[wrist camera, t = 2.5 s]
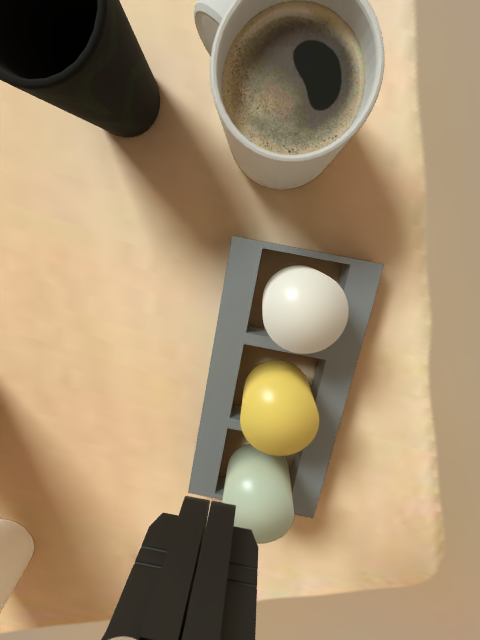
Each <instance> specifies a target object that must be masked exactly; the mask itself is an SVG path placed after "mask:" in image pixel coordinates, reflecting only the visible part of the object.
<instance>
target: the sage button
mask: <svg viewBox="0 0 480 640" xmlns="http://www.w3.org/2000/svg"><path fill="white" fill-rule="evenodd" d="M222 503H226V504H232V505H236V511H235V519H234V526H235V527H240V528H246V529H251V530H252V533H253V535H254V538H255V540H256V543H258V544H261V543H269V542H272V541H275V540H277V539H279V538H281V537H282V536H283V535H285V534H286V533H287V532H288V530H289V529H290V527H291V525H292V523H293V520H294V507H293V499H292V490H291V482H290V474H289V466H288V462H287V460H286V458H285V457H284V456H275V455H269V454H266V453H263V452H261V451H259V450H257V449H256V448H255V447H253V446H252V445H251V444H247V445H244V446H242V447H240V448H239V449H237V450H236V451H235V452H234V453H233V454H232V456H231V457H230V460H229V462H228V467H227V473H226V480H225V487H224V493H223V500H222Z"/></svg>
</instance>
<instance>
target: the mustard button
mask: <svg viewBox="0 0 480 640" xmlns="http://www.w3.org/2000/svg"><path fill="white" fill-rule="evenodd" d="M240 424H241V429H242V432H243V434H244V436H245V438H246V439H247V441H248V442H249V443H250V444H251V445H252V446H253V447H255V448H256V449H257V450H259V451H261V452H263V453H266V454H269V455H275V456H286V455H291V454H294V453H297V452H299V451H301V450H302V449H304V448H305V447H307V446H308V445H309V444H310V443H311V442H312V440H313V439H314V437H315V436H316V434H317V431H318V427H319V414H318V410H317V407H316V404H315V401H314V398H313V395H312V392H311V389H310V386H309V383H308V380H307V378H306V376H305V374H304V373H303V372H302V370H300V369H299V368H298V367H297V366H296V365H294V364H292V363H290V362H287V361H283V360H270V361H266V362H263V363H261V364H259V365H258V366H256V367H255V368H254V369H253V370H252V371H251V372H250V373H249V375H248V376H247V378H246V380H245V384H244V391H243V399H242V407H241V415H240Z"/></svg>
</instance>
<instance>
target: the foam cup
mask: <svg viewBox="0 0 480 640" xmlns="http://www.w3.org/2000/svg"><path fill="white" fill-rule="evenodd" d="M33 551H34V543H33V540H32V536H31V535H30V534H29V533H28V532H27V530H26V529H25V528H24V527H23V526H21V525H19V524H17V523H16V522H14V521H11V520H5V519H0V613H1V611H2V609H3V607H4V605H5V604H6V602H7V600H8V598H9V597H10V595H11V593H12V591H13V590H14V588H15V586H16V584H17V582H18V581H19V579H20V577H21V575H22V574H23V572H24V570H25V568H26V567H27V565H28V563H29V560H30V559H31V557H32V555H33Z"/></svg>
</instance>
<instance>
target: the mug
mask: <svg viewBox="0 0 480 640" xmlns="http://www.w3.org/2000/svg"><path fill="white" fill-rule="evenodd" d="M194 17H195V24H196V28H197V30H198V33H199V36H200V38H201V40H202V42H203V44H204V46H205V48H206V50H207V51H208V53H209V55H210V56H211V59H210V81H211V90H212V94H213V98H214V102H215V105H216V108H217V111H218V114H219V117H220V120H221V123H222V126H223V129H224V132H225V135H226V138H227V141H228V144H229V147H230V149H231V152H232V155H233V157H234V159H235V161H236V163H237V164H238V166H239V168H240V169H241V170H242V171H243V172H244V174H245V175H247V176H248V177H249V178H250V179H251V180H253V181H254V182H256V183H258V184H260V185H262V186H265V187H268V188H272V189H282V190H284V189H292V188H296V187H299V186H302V185H304V184H306V183H308V182H310V181H311V180H313V179H314V178H316V177H317V176H318V175H319V174H320V173H321V172H322V171H323V170H324V169H325V168H326V167H327V166H328V165H329V164H330V162H331V161H332V160H333V159H334V158H335V157H336V155H337V154H338V153H339V152H340V151H341V150H342V149H343V147H344V146H345V145H346V144H347V143H348V142H349V141H350V139H351V138H352V137H353V136H354V135H355V134H356V132H357V131H358V130H359V129H360V127H361V126H362V125H363V124H364V122H365V121H366V119H367V117H368V116H369V114H370V112H371V111H372V109H373V106H374V104H375V102H376V100H377V97H378V94H379V91H380V87H381V84H382V79H383V72H384V44H383V38H382V32H381V29H380V25H379V22H378V19H377V17H376V14H375V12H374V10H373V8H372V6H371V4H370V3H369V1H368V0H199V1H198V2H197V3H196V5H195V7H194Z"/></svg>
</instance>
